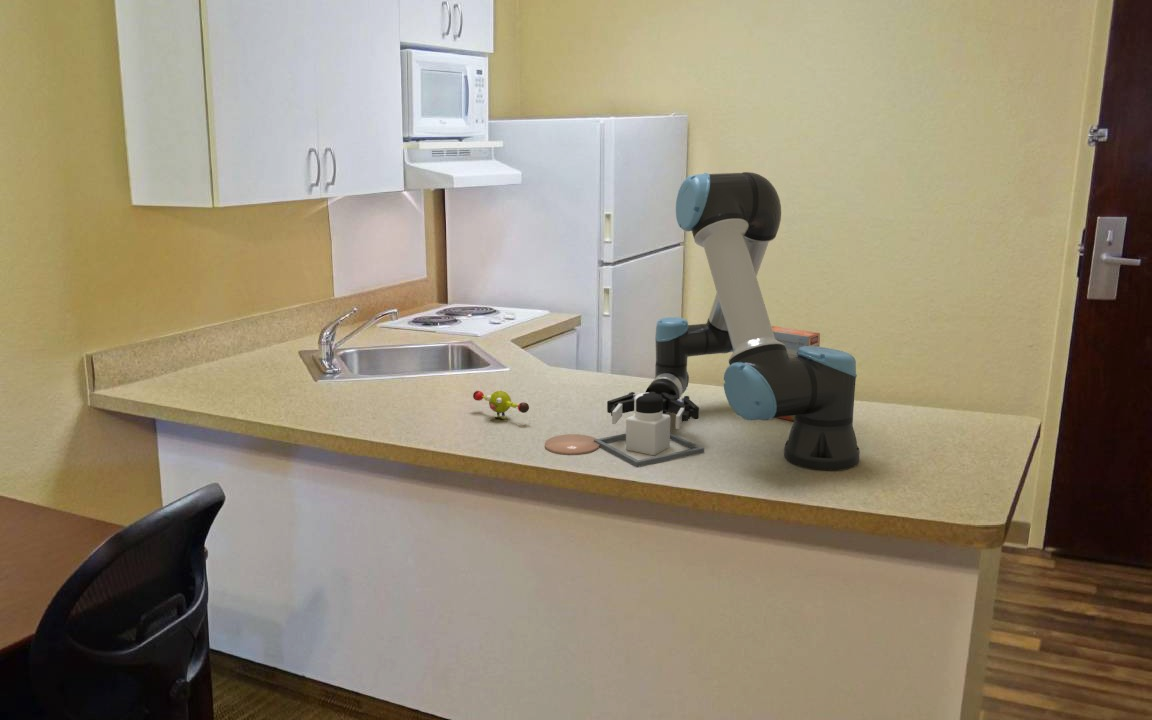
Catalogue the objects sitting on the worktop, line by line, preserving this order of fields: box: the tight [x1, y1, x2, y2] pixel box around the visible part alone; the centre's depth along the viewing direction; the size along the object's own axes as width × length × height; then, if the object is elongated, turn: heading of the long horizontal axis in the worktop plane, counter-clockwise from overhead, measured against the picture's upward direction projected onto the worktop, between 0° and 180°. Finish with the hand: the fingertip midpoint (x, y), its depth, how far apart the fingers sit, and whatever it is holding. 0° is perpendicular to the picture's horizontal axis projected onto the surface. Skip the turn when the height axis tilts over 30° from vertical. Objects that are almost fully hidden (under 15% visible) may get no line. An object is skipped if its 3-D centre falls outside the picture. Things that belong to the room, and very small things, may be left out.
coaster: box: [544, 433, 600, 456], centre depth 208 cm, size 12×12×1 cm
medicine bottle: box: [625, 392, 671, 456], centre depth 205 cm, size 7×7×12 cm
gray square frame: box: [594, 432, 705, 468], centre depth 206 cm, size 17×17×1 cm
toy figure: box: [472, 390, 530, 421], centre depth 227 cm, size 18×6×7 cm, turn 48°
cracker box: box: [771, 325, 821, 422], centre depth 226 cm, size 14×6×21 cm, turn 47°
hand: (645, 420), depth 202 cm, fingers open, 13 cm apart
